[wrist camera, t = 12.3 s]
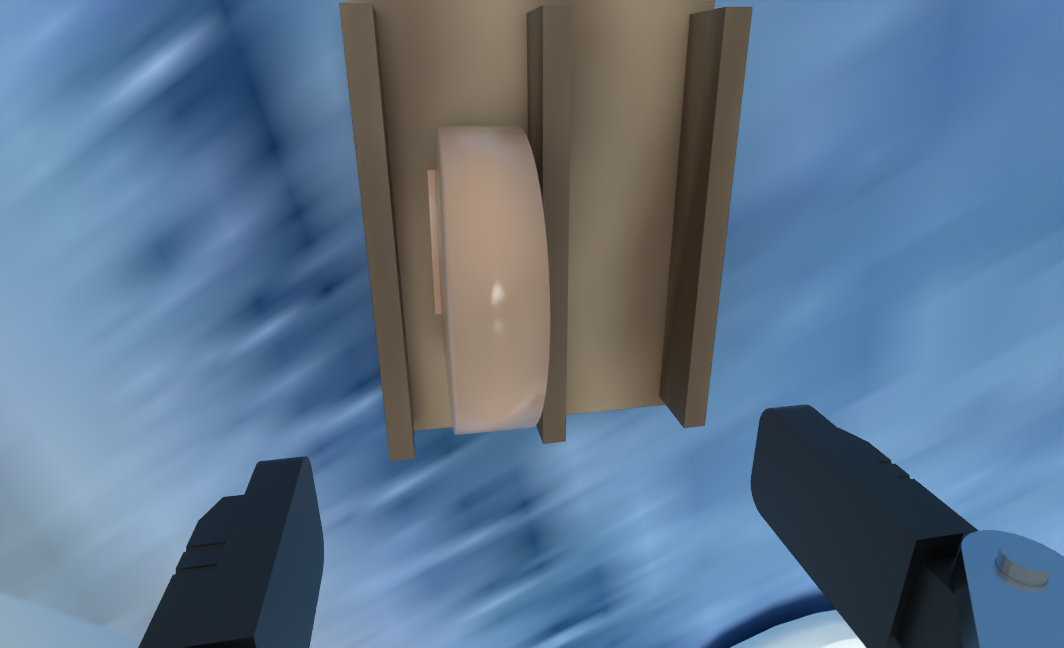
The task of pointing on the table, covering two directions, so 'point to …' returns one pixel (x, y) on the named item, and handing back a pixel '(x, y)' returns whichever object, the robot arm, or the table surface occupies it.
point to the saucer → (490, 276)
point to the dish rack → (557, 185)
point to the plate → (807, 634)
